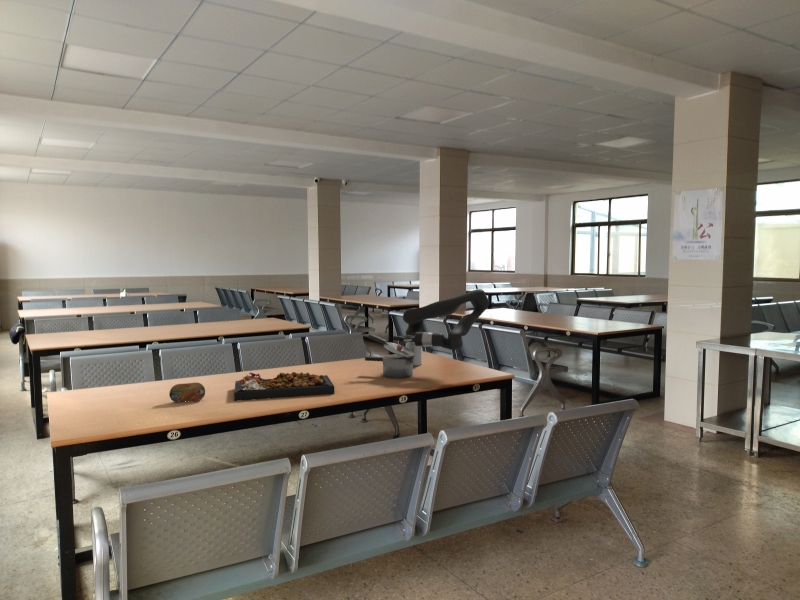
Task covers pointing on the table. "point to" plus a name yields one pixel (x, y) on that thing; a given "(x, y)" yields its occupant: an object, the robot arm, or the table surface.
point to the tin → (187, 392)
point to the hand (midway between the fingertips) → (393, 338)
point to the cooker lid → (393, 347)
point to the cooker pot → (395, 365)
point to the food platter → (282, 386)
